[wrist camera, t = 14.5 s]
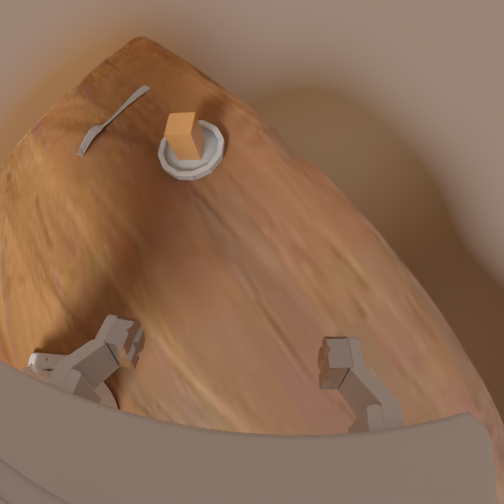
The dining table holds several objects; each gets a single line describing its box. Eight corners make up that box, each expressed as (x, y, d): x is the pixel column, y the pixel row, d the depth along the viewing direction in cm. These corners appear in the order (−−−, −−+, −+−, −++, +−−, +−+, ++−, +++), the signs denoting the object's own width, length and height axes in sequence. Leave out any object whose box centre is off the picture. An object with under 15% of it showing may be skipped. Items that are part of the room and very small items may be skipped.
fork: (155, 95, 51) (152, 86, 49) (81, 161, 47) (75, 154, 44) (147, 91, 52) (145, 82, 49) (75, 155, 47) (70, 148, 45)
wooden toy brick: (178, 160, 45) (163, 135, 37) (182, 140, 45) (169, 113, 37) (201, 159, 44) (190, 134, 37) (204, 139, 45) (195, 112, 37)
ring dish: (156, 180, 45) (153, 176, 43) (168, 126, 47) (165, 121, 45) (220, 180, 44) (218, 176, 43) (227, 125, 46) (226, 119, 45)
